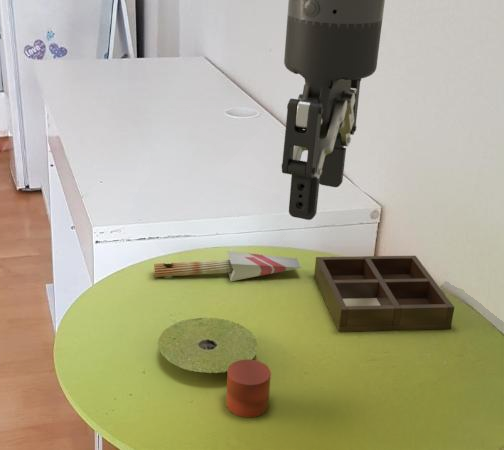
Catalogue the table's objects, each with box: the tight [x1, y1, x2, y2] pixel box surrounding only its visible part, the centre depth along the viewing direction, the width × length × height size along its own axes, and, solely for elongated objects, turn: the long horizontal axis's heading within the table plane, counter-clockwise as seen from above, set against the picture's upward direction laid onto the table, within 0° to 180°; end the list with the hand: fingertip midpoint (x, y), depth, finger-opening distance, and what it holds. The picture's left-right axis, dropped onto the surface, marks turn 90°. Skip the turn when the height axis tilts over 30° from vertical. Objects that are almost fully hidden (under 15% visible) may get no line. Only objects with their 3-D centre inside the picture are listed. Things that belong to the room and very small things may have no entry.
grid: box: [313, 255, 455, 332], centre depth 97 cm, size 14×14×3 cm
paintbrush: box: [153, 250, 302, 282], centre depth 103 cm, size 4×3×20 cm
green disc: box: [157, 317, 259, 374], centre depth 85 cm, size 11×11×2 cm
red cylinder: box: [225, 359, 272, 418], centre depth 77 cm, size 4×4×4 cm
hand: (316, 200), depth 67 cm, fingers open, 8 cm apart
